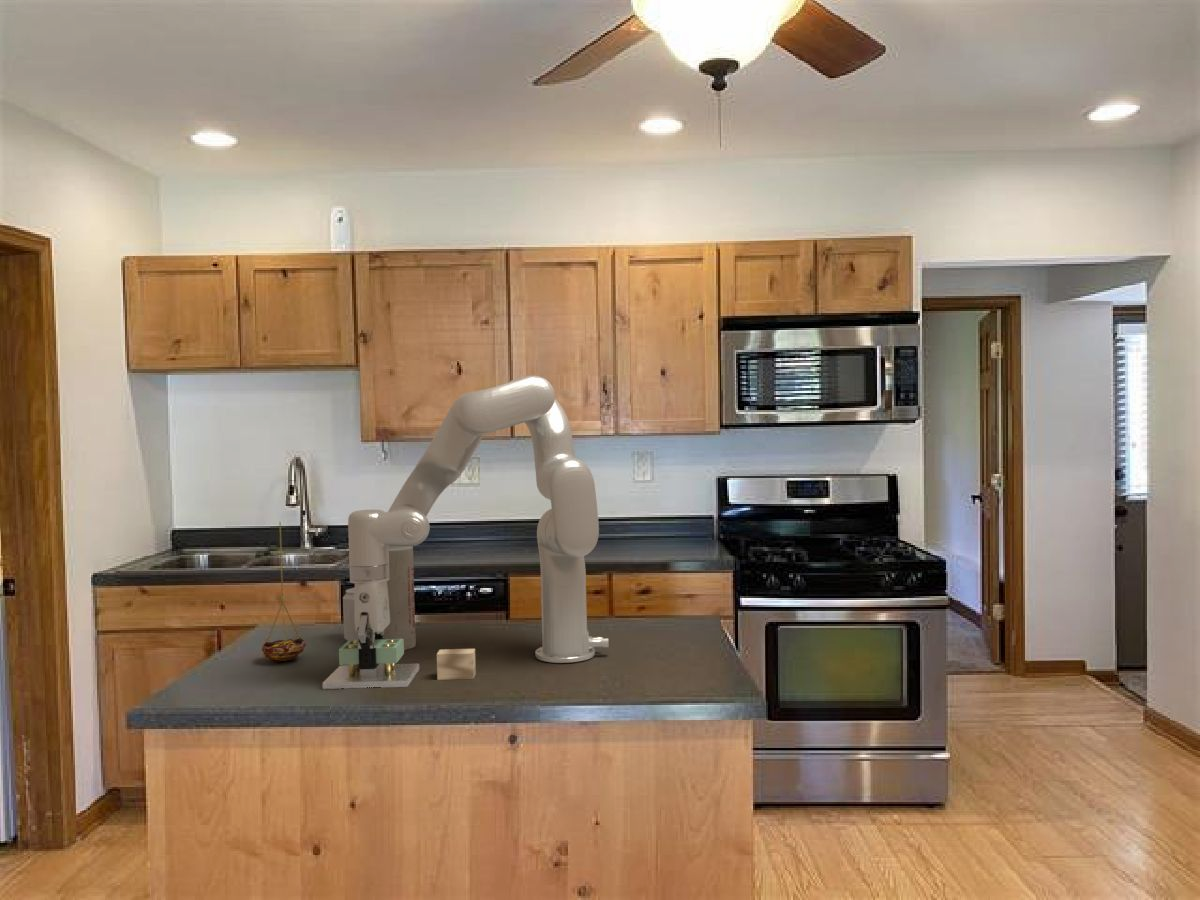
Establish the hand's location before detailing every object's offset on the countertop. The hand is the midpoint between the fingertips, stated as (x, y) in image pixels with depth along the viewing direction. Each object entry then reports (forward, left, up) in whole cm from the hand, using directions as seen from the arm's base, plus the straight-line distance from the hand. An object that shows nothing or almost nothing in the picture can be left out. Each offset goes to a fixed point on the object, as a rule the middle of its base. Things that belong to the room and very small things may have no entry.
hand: (372, 662), depth 175 cm
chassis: (0, 0, -3) cm, 3 cm away
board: (0, 0, +1) cm, 1 cm away
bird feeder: (+23, -15, -3) cm, 28 cm away
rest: (-16, 0, -3) cm, 17 cm away
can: (+11, -32, -3) cm, 34 cm away
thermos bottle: (+1, -25, -3) cm, 26 cm away
